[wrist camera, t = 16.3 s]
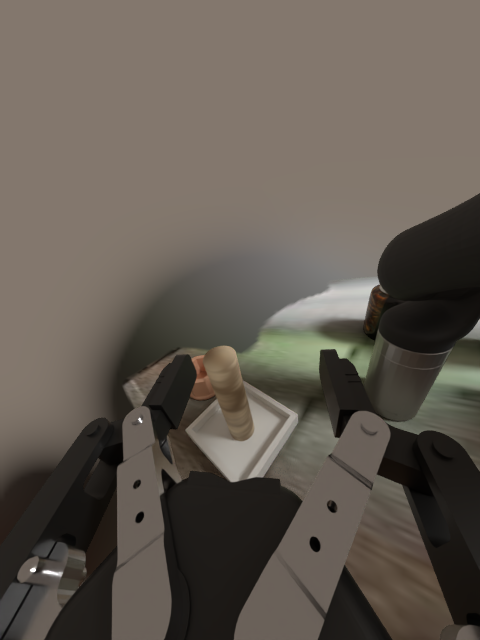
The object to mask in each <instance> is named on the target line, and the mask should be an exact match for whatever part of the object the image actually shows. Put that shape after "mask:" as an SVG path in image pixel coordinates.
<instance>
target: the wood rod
mask: <svg viewBox="0 0 480 640" xmlns="http://www.w3.org/2000/svg"><path fill="white" fill-rule="evenodd" d="M203 365H204V367H205V370H206V372H207V375H208V377H209V380H210V382H211V385H212V388H213V390H214V393H215V395H216V398H217V400H218V403H219V405H220V408H221V410H222V413H223V416H224V418H225V421H226V423H227V426H228V428H229V431H230V433H231V436H232V437H233V438H234V439H235V440H237V441H245V440H248V439H249V438H250V437H251V436H252V435H253V432H254V423H253V419H252V415H251V411H250V407H249V403H248V399H247V395H246V391H245V387H244V383H243V380H242V376H241V372H240V368H239V364H238V360H237V356H236V352H235V350H234V349H233V348H231V347H229V346H218V347H215V348H213V349H211V350H209V351H208V352H207V353H206V354H205V356H204V358H203Z"/></svg>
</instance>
